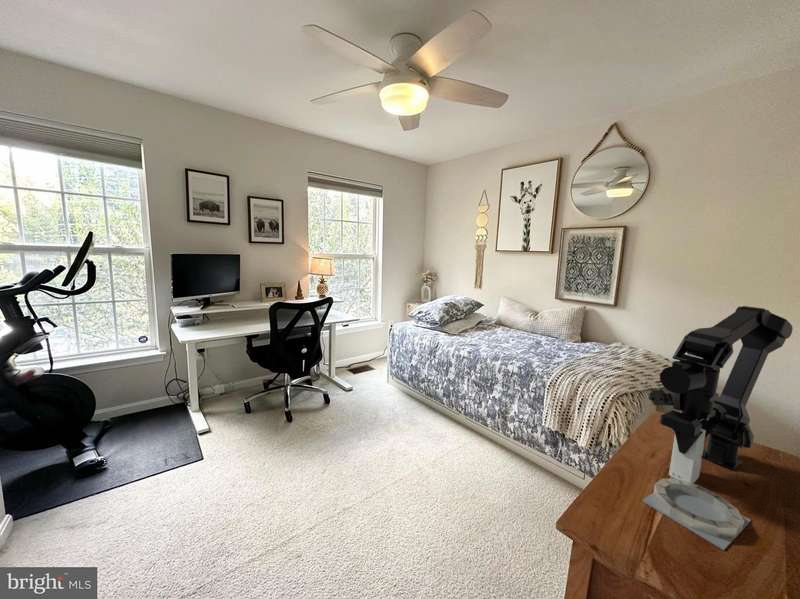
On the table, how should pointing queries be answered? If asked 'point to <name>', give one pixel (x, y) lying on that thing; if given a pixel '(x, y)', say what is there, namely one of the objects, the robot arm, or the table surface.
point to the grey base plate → (698, 509)
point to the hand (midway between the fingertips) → (688, 449)
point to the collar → (702, 524)
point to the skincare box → (687, 460)
